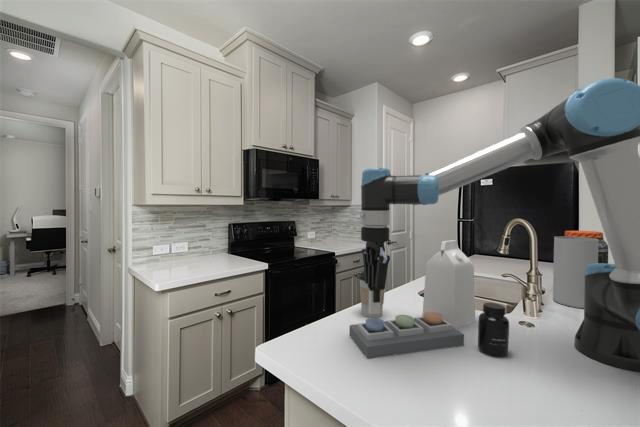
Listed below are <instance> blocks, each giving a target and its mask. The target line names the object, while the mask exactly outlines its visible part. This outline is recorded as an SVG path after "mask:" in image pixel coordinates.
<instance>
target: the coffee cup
mask: <svg viewBox="0 0 640 427" xmlns="http://www.w3.org/2000/svg"><path fill="white" fill-rule="evenodd" d="M358 276H359V277H358V279H359V295H360V303H361V304H360V305H361V315H362V316H363V317H366V318H381V317H382V316H383V309H384V306H383V305H384V303H385V302H384V301H385V290H386V288H385V289H384V290H380V313H378V314H370V313H369V288H368V284H366V283H365V273H364V270H363V271H362V272H361V273H360V274H359V275H358Z"/></svg>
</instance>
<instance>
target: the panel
mask: <svg viewBox="0 0 640 427" xmlns="http://www.w3.org/2000/svg"><path fill="white" fill-rule="evenodd" d="M413 318H414V326H413V327H410V328H404V327H400V326H398V325H396V323H395V319H388V320H386V321H384V320H383V321H384V330H382V331H371V330H368V329H367V328H366V322H362V323H361V322H360V323H357V324H350V325H349V337H350V336H351V337H350V338H351V339H352V341H353V340H354V341H353V342H354V343H355V345H356V344H357V345H356V346H357V347H358V348H359V350H360V351H361V352H362V354H363V355H364V357H366V359H367V360H368V359H374V358H382V357H388V355H390V356H395V355H394V354H397V355H402V354H403V353H404V354H410V353H416V352H417V353H418V352H426V351H432V350H433V351H434V350H439V349H444V348H445V349H446V348H452V347H453V348H455V347H459V346H465V334H464V333H463V332H461V331H460V330H458V329H455V328H453V327H452V324H450V323H448V322H447V321H445V320H443V319H442V323H441V324H430V323H427V322H425V321H424V317H422V316H417V317H416V316H415V317H413Z"/></svg>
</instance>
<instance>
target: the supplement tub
mask: <svg viewBox="0 0 640 427" xmlns="http://www.w3.org/2000/svg"><path fill="white" fill-rule="evenodd" d="M564 236H567V237H585V238H594V239H598V263H605V264H609V245H608V242H606V241H605V239H604V232H601V231H593V230H565V231H564Z"/></svg>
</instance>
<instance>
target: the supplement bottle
mask: <svg viewBox="0 0 640 427" xmlns="http://www.w3.org/2000/svg"><path fill="white" fill-rule="evenodd" d="M482 307H483V308H482V311H483V312H481V313H480V314H479V315H478V322H477V323H478V324H477V325H478V326H477V328H478V329H477V347H478V350H479V351H481V353H483V354H485V355H487V356H490V357H494V358H505V357H507V356H508V354H509V343H510V342H509V339H510V320H509V319H508V318H507V316H505V315H506V307H505V306H504V305H502V304H500V303H496V302H495V303H494V302H485V303H484V302H483V306H482Z"/></svg>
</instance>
